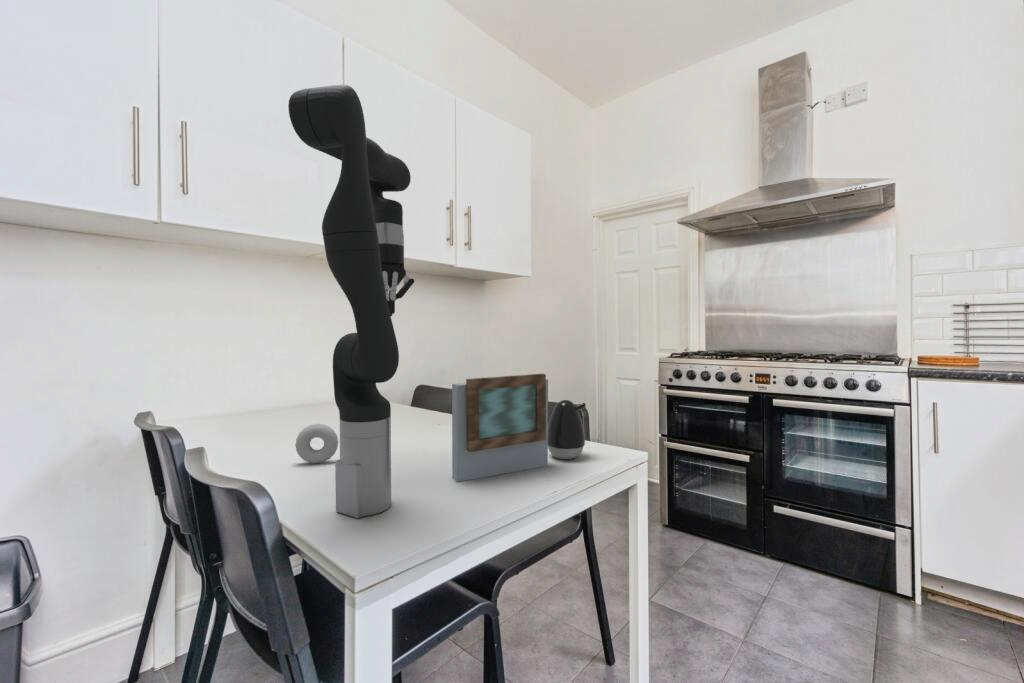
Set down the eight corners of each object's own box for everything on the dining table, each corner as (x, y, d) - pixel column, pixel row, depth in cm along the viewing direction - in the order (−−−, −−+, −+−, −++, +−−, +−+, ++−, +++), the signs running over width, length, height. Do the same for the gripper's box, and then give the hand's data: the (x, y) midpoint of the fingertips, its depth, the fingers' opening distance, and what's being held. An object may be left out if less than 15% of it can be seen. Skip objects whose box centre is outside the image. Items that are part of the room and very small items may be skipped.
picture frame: (469, 452, 97) (468, 379, 96) (466, 450, 98) (466, 378, 98) (545, 440, 107) (545, 374, 106) (542, 438, 108) (542, 373, 107)
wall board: (457, 481, 98) (457, 385, 97) (452, 477, 101) (452, 383, 100) (547, 465, 110) (548, 379, 109) (541, 462, 112) (541, 378, 112)
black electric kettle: (588, 462, 112) (589, 403, 112) (547, 462, 112) (548, 403, 112) (582, 451, 122) (582, 396, 122) (544, 451, 122) (545, 396, 122)
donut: (294, 466, 108) (293, 426, 108) (297, 462, 112) (296, 423, 111) (337, 463, 111) (337, 424, 110) (339, 459, 114) (339, 421, 114)
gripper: (362, 239, 101) (363, 315, 101) (419, 244, 107) (419, 316, 108) (356, 244, 107) (357, 316, 108) (410, 249, 114) (410, 316, 114)
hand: (388, 316), depth 108 cm, fingers closed
